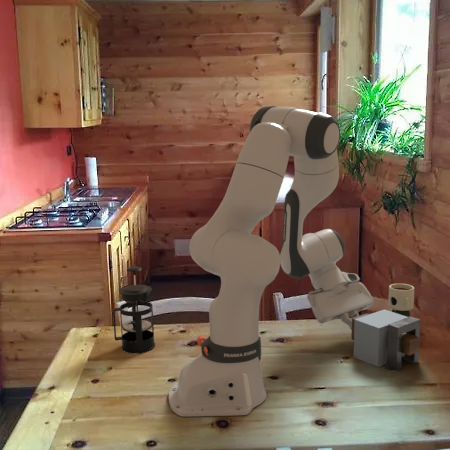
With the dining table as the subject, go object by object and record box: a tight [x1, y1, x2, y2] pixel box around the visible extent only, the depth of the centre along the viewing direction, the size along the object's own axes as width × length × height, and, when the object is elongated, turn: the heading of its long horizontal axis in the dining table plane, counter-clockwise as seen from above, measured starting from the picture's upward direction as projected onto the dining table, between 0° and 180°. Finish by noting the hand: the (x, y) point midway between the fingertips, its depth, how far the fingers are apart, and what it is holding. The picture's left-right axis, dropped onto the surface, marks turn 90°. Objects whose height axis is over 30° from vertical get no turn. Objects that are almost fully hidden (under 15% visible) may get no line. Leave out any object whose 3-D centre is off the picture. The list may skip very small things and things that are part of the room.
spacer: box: [386, 315, 421, 372], centre depth 147 cm, size 3×9×12 cm, turn 126°
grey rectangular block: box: [353, 309, 407, 368], centre depth 153 cm, size 8×12×10 cm, turn 126°
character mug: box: [387, 283, 415, 317], centre depth 170 cm, size 11×7×13 cm, turn 3°
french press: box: [112, 266, 156, 354], centre depth 161 cm, size 12×9×23 cm
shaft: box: [351, 313, 420, 355], centre depth 151 cm, size 18×6×6 cm, turn 36°
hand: (357, 328), depth 159 cm, fingers closed, pressing on shaft
